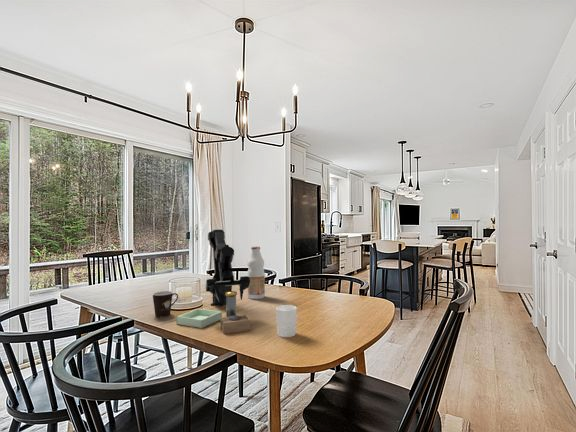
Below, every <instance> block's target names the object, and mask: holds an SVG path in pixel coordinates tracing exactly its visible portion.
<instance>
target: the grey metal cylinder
mask: <svg viewBox="0 0 576 432" xmlns="http://www.w3.org/2000/svg"><path fill="white" fill-rule="evenodd" d="M225 295H226V304H225V306H226V307H225V309H226V315H225V317H230V316H233V315H237V295H238V293H237V291H235V290H232V291H227V292H225Z"/></svg>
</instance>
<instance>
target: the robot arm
mask: <svg viewBox="0 0 576 432" xmlns="http://www.w3.org/2000/svg"><path fill="white" fill-rule="evenodd" d="M225 234H226V233H225V231H224V230H223V229H213V230H212V231H210V232H208V233H207V241H208V243H209V246H210V247H211V248H212V253H213V254H212V256H213V268H214V269H213V270H214V273H213V277H212V278H207V279H206V280H205V281H206V282H205V292H209V293H211V294H212V303H210V306H216V307H217V306H218V307H222V306H226V295H225V292H227V291H233V289H232V288H233V286H238V287H239V296H240V297H239V299H240V300H241V301H242V300H243V295H244V291H245V290H247V289H248V287H249V284H250V278H249V277H248V276H246V275H245V276H243V275H242V276H240V277H239V279H235V276H234V272H233V270H234V269H233V266H232V262H233V260H234V256H235V250H234V248H233V247H231V246H230V245H229V244H227V243H226V240H225V239H226V238H225V237H226V235H225Z"/></svg>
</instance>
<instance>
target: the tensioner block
mask: <svg viewBox="0 0 576 432" xmlns="http://www.w3.org/2000/svg"><path fill="white" fill-rule="evenodd" d="M220 329H221V331H222V333H223V334H230V333H238V332H239V333H241V332H245V331H250V319H249V318H248V317H247V316H246V314H244V315H242V314H241V315H238V314H236V315H233V316H230V317H226V316H225V317H222V318H221V319H220Z"/></svg>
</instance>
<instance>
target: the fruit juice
mask: <svg viewBox="0 0 576 432" xmlns="http://www.w3.org/2000/svg"><path fill="white" fill-rule="evenodd" d="M250 249H251V252H250V256H249V258H248V260H247V268H248V270H247V276H248V277H249V278H250V284H249V287H248V288H247V298H248V299H250V300H260V299H264V298H265V294H266V289H265V287H266V286H265V285H266V283H265V280H266V279H265V269H264V266H265V261H264V258H263V256H262V253H261V251H260V250H261V247H260V246H251V248H250Z"/></svg>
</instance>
